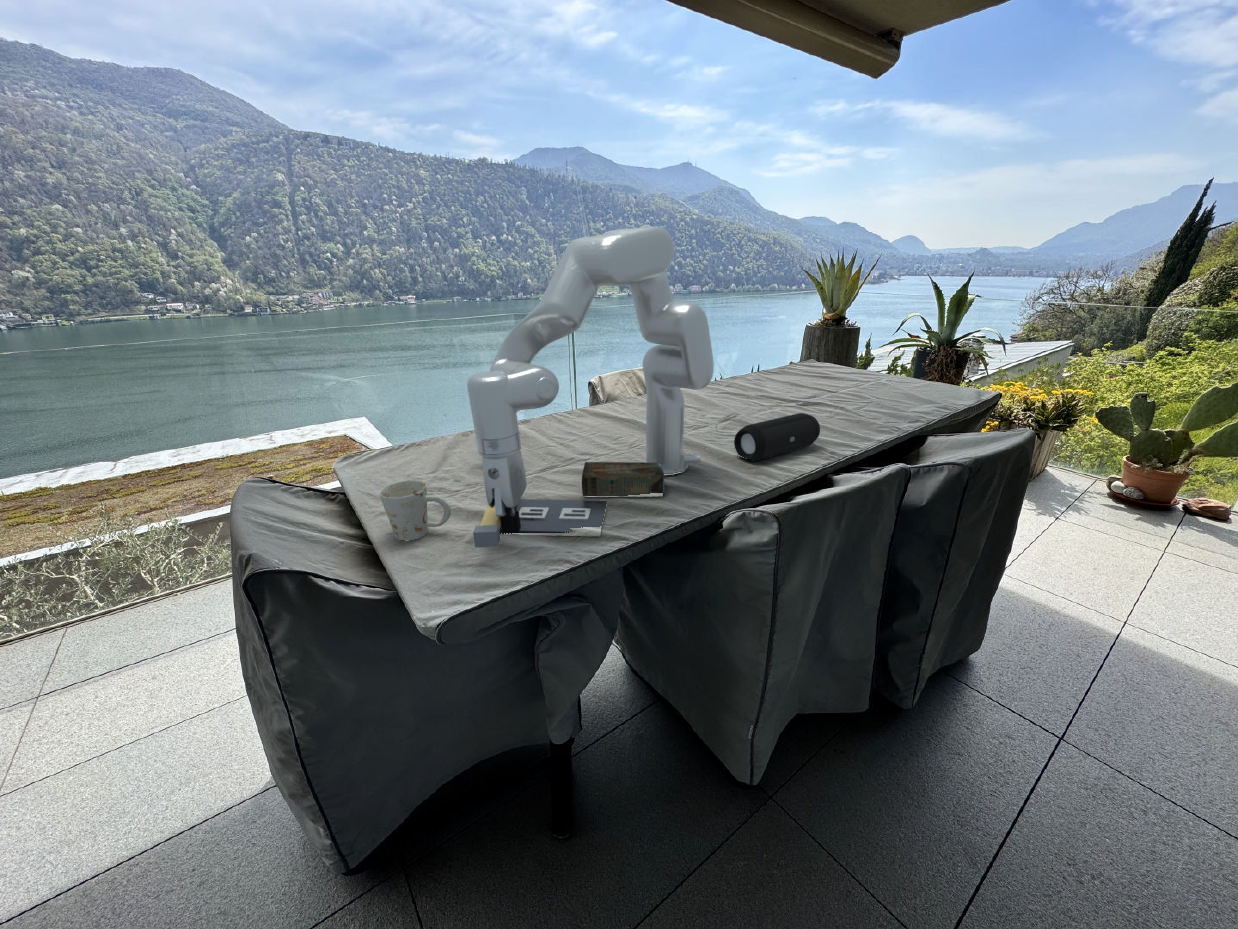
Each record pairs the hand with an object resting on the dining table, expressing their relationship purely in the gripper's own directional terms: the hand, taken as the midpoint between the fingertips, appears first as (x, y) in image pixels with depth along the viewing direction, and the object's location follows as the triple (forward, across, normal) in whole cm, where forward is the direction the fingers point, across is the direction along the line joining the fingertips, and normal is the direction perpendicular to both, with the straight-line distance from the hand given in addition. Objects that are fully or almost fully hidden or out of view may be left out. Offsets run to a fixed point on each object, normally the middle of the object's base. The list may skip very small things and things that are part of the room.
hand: (512, 530), depth 92 cm
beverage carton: (+4, +23, -20) cm, 31 cm away
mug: (+2, +2, +19) cm, 19 cm away
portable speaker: (+5, +50, -62) cm, 80 cm away
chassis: (+2, +9, -5) cm, 10 cm away
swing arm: (-2, +1, +3) cm, 4 cm away
